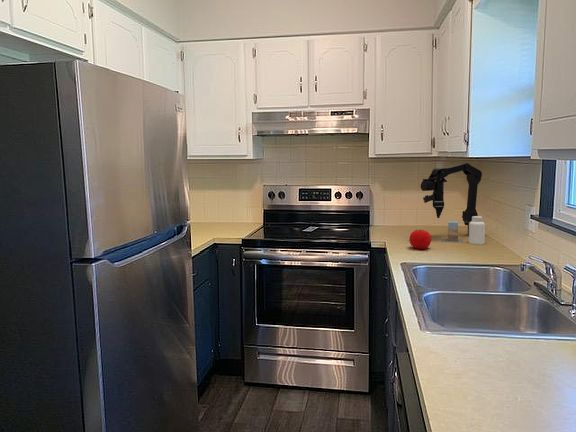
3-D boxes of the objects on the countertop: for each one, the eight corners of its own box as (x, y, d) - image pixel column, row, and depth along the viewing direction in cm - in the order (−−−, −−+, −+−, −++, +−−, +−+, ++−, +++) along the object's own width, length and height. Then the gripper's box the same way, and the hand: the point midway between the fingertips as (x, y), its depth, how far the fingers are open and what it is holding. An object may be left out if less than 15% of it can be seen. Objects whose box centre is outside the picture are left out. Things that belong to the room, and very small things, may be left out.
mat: (440, 239, 270) (440, 238, 270) (462, 240, 266) (462, 239, 266) (440, 242, 259) (440, 241, 259) (463, 243, 256) (463, 242, 256)
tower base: (447, 239, 266) (448, 233, 265) (457, 239, 264) (457, 233, 264) (448, 241, 261) (448, 234, 260) (457, 241, 259) (457, 235, 259)
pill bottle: (483, 242, 256) (484, 215, 254) (485, 245, 249) (486, 217, 247) (467, 242, 258) (468, 215, 257) (469, 245, 251) (470, 217, 249)
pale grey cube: (448, 227, 265) (448, 221, 264) (457, 227, 263) (457, 221, 263) (448, 228, 260) (448, 222, 260) (457, 228, 258) (457, 222, 258)
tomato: (417, 251, 237) (417, 231, 236) (404, 247, 249) (404, 228, 248) (436, 249, 240) (436, 230, 239) (423, 245, 252) (423, 227, 251)
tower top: (448, 233, 265) (448, 227, 265) (457, 233, 264) (457, 227, 263) (448, 234, 260) (448, 228, 260) (457, 235, 259) (457, 228, 259)
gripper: (424, 189, 278) (423, 215, 280) (423, 191, 261) (423, 219, 263) (443, 189, 275) (443, 215, 277) (444, 191, 257) (444, 219, 259)
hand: (438, 217), depth 269 cm, fingers open, 9 cm apart
